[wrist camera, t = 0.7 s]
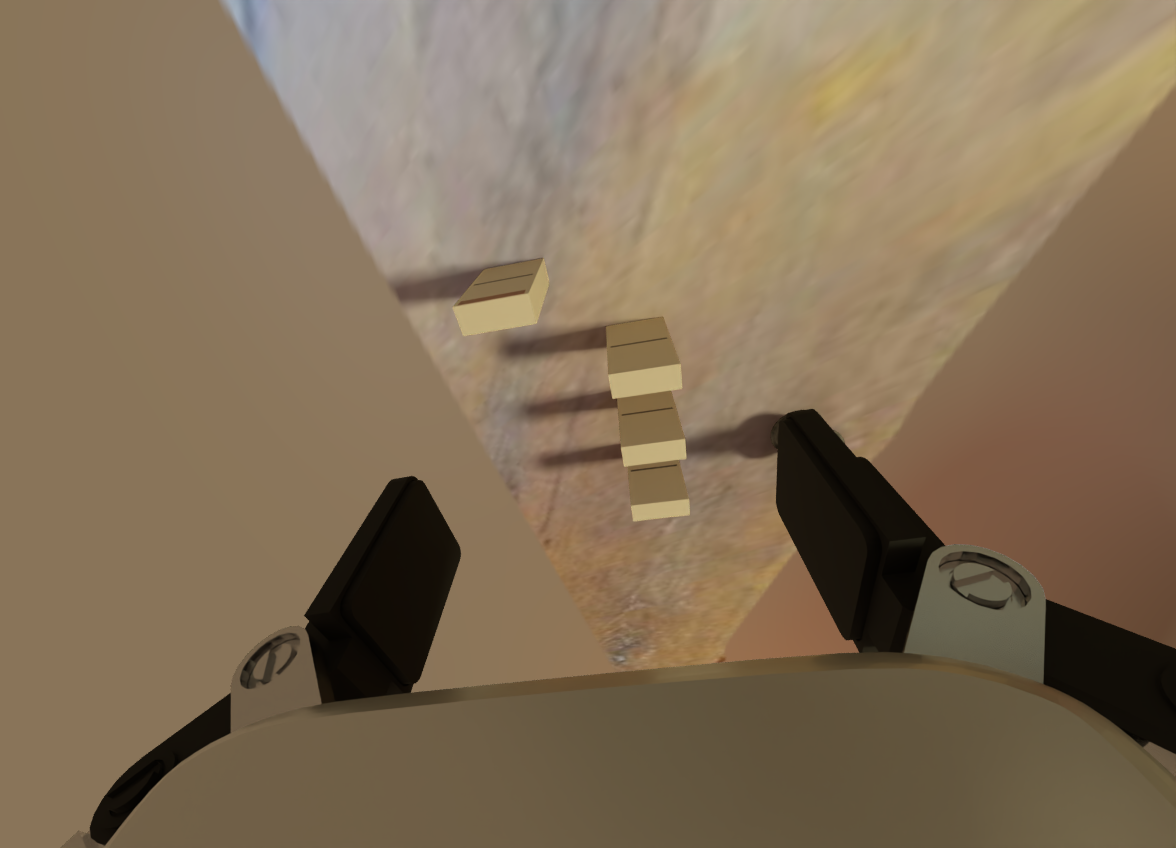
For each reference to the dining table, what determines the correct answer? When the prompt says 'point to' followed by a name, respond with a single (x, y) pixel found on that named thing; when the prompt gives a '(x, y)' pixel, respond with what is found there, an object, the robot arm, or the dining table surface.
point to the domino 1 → (503, 298)
